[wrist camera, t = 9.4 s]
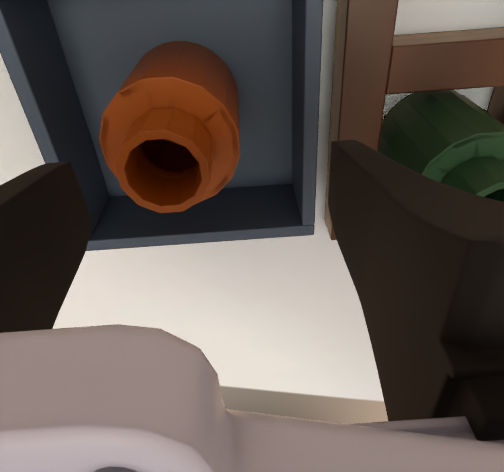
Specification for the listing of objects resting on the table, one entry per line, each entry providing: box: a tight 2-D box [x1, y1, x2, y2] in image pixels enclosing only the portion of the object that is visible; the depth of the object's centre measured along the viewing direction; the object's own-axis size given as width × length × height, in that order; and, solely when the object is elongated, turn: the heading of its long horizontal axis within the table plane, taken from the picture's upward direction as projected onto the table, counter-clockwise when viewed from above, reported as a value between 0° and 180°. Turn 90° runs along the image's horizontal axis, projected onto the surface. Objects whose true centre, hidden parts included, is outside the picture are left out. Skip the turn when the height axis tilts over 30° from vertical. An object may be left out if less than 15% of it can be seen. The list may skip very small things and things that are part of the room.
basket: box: [0, 0, 323, 251], centre depth 18 cm, size 11×11×4 cm
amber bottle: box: [99, 41, 240, 213], centre depth 16 cm, size 5×5×8 cm
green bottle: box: [378, 90, 504, 202], centre depth 18 cm, size 5×5×8 cm
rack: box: [325, 0, 504, 240], centre depth 18 cm, size 10×18×2 cm, turn 3°
